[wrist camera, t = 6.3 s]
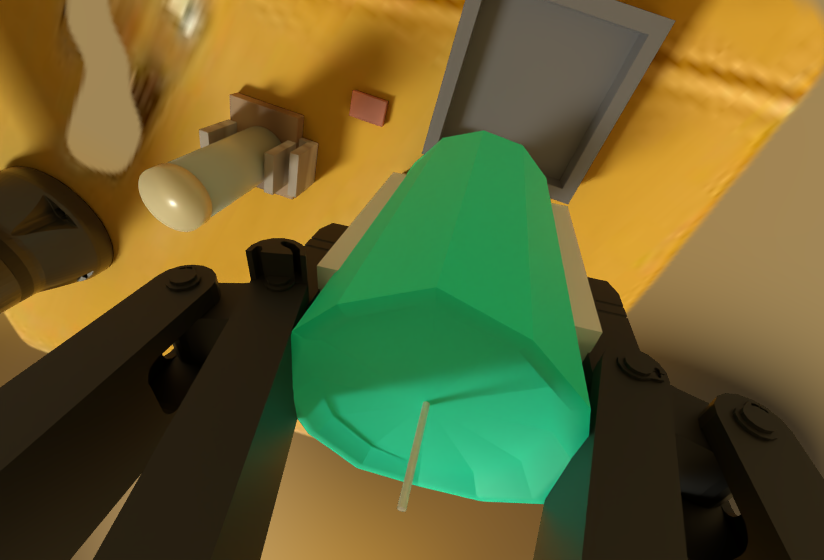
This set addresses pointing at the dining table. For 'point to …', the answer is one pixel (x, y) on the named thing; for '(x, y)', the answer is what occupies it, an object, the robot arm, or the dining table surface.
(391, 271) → the candle
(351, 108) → the fuse clips
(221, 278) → the dining table surface
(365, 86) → the dining table surface
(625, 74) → the tray
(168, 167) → the cream round cylinder
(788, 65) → the dining table surface
